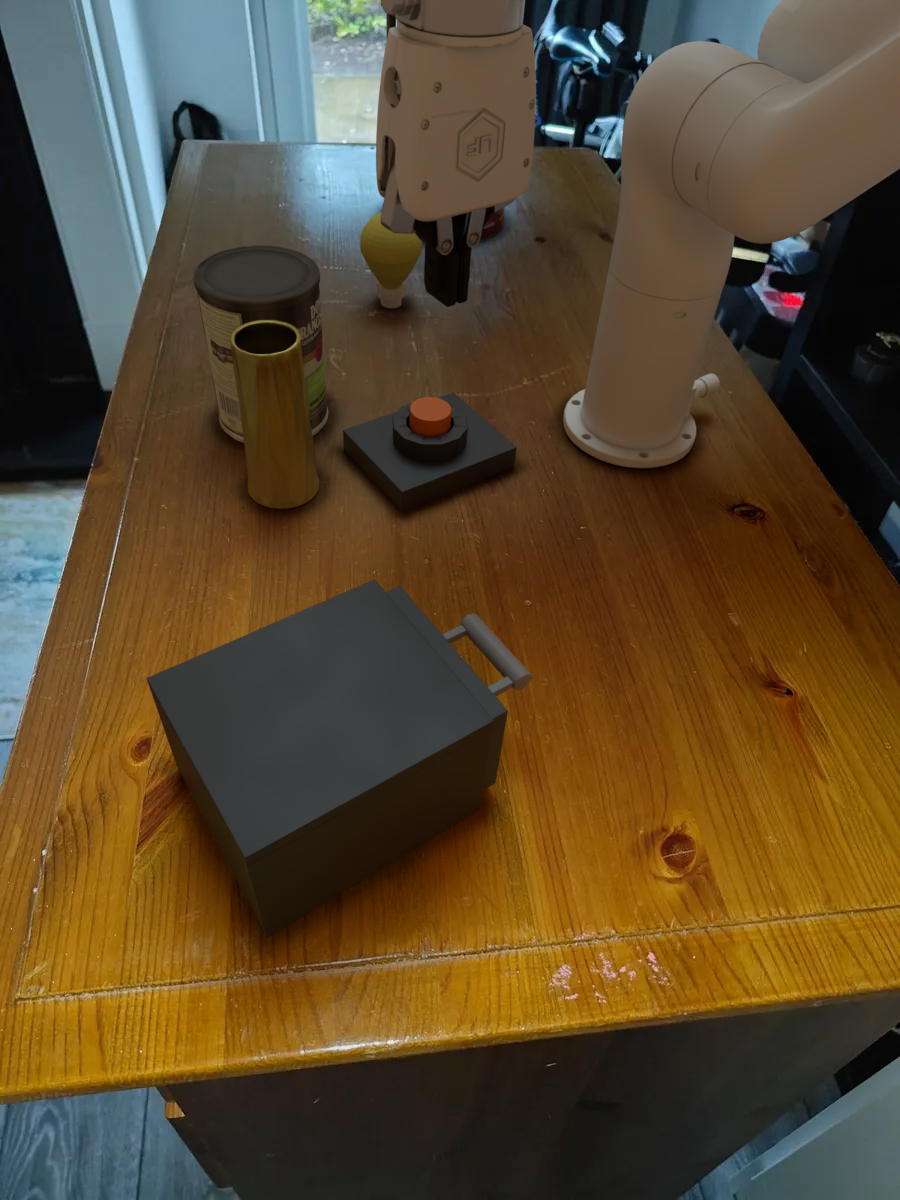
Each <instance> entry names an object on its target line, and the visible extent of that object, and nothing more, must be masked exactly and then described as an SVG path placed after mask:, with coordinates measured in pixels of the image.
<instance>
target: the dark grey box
mask: <svg viewBox="0 0 900 1200" xmlns="http://www.w3.org/2000/svg"><path fill="white" fill-rule="evenodd" d="M386 592H387V591H385V589H383V587H382V586H381V585H380V583H379V582H378V581H377V580H376V579H371V580H370V581H367V582H365V583H362V584H360V585H357V586H356V587H353V588H350V589H349V590H346V591H344V592H341V593H340V594H337V595H335V596H332V597H331V598H328V599H325V600H324V601H321V602H319V603H317V604H313V605H312V606H310V607H307V608H305V609H303V610H300V611H298V612H296V613H293V614H291V615H288V616H286V617H284V618H282V619H279V620H277V621H275V622H273V623H270V624H268V625H266V626H264V627H261V628H259V629H256V630H254V631H251V632H249V633H247V634H245V635H242V636H240V637H238V638H236V639H234V640H231V641H229V642H227V643H224V644H222V645H219V646H217V647H215V648H213V649H211V650H208V651H206V652H203V653H201V654H199V655H197V656H196V655H195V656H193V657H192V658H190V659H187V660H185V661H183V662H181V663H178V664H176V665H173V666H171V667H168V668H166V669H164V670H162V671H160V672H158V673H155V674H153V675H150V676H148V677H146V681H147V684H148V687H149V691H150V693H151V696H152V699H153V701H154V705H155V707H156V710H157V713H158V716H159V719H160V722H161V725H162V727H163V731H164V733H165V736H166V739H167V742H168V745H169V748H170V750H171V754H172V756H173V759H174V762H175V765H176V767H177V770H178V773H179V775H180V777H181V779H182V781H183V782H184V784H185V786H186V788H187V790H188V792H189V793H190V795H191V797H192V799H193V801H194V803H195V805H196V807H197V809H198V811H199V812H200V814H201V817H202V818H203V820H204V822H205V824H206V826H207V828H208V830H209V831H210V833H211V835H212V837H213V839H214V841H215V843H216V845H217V846H218V849H219V850H220V852H221V854H222V856H223V858H224V860H225V861H226V864H227V865H228V868H229V869H230V871H231V873H232V875H233V877H234V879H235V881H236V882H237V884H238V887H239V888H240V890H241V892H242V894H243V896H244V897H245V899H246V901H247V903H248V905H249V907H250V909H251V911H252V913H253V914H254V916H255V918H256V920H257V922H258V924H259V926H260V928H261V929H262V931H263V933H264V935H265V937H266V938H269V937H270V936H273V935H274V934H275V933H277V932H279V931H281V930H282V929H284V928H285V927H287V926H289V925H290V924H292V923H294V922H295V921H297V920H298V919H300V918H302V917H303V916H305V915H307V914H309V913H310V912H312V911H314V910H315V909H317V908H318V907H320V906H322V905H324V904H325V903H327V902H329V901H330V900H332V899H333V898H335V897H338V896H339V895H341V894H342V893H343V892H345V891H347V890H349V889H350V888H352V887H353V886H355V885H357V884H359V883H360V882H362V881H363V880H365V879H367V878H368V877H370V876H372V875H374V874H376V872H377V873H378V871H380V870H382V869H383V868H386V866H389V865H391V864H392V863H393V862H396V861H397V860H399V859H400V858H403V856H405V855H407V854H408V853H410V852H412V851H414V850H415V849H417V848H419V847H420V846H422V845H423V844H425V843H427V842H429V841H430V840H432V839H433V838H435V837H437V836H438V835H440V834H441V833H444V832H445V831H446V830H448V829H450V828H451V827H453V826H455V825H457V824H458V823H460V822H461V821H463V820H465V819H467V818H469V817H470V816H472V815H473V814H475V813H476V812H478V811H480V810H481V808H482V802H483V797H484V791H485V790H484V783H485V777H486V771H487V764H488V758H489V751H490V745H491V738H492V732H493V725H494V720H493V719H492V718H491V716H490V715H489V714H488V713H487V712H486V711H485V709H484V708H483V707H482V706H481V705H480V703H479V702H478V701H477V700H476V699H475V698H474V696H473V695H472V694H471V693H470V692H469V690H468V689H467V688H466V687H465V686H464V684H463V683H462V682H461V681H460V680H459V679H458V677H457V676H456V675H455V674H454V673H453V671H452V670H451V669H450V668H449V667H448V666H447V664H446V663H445V662H444V661H443V660H442V658H441V657H440V656H439V655H438V654H437V652H436V651H435V650H434V649H433V648H432V647H431V645H430V644H429V643H428V642H427V641H426V639H425V638H424V637H423V636H422V635H421V634H420V632H419V631H418V630H417V629H416V628H415V626H414V625H413V624H412V623H411V622H410V621H409V619H408V618H407V617H406V616H405V615H404V613H403V612H402V611H401V610H400V609H399V607H398V606H397V605H396V604H395V603H394V602H393V600H392V599H391V598H390V597H389V596H388V594H387V593H386Z"/></svg>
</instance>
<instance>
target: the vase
mask: <svg viewBox="0 0 900 1200" xmlns="http://www.w3.org/2000/svg"><path fill="white" fill-rule="evenodd" d="M231 352H232V359H233V366H234V373H235V380H236V387H237V393H238V398H239V405H240V414H241V422H242V430H243V439H244V443H243V445H244V453H245V460H246V466H247V467H246V468H247V492H248V494H249V496H250V498H251V499H252V500H253V501H254V502H255V503H257V504H259V505H261V506H263V507H266V508H269V509H273V510H275V509H276V510H285V509H286V510H288V509H294V508H298V507H301V506H303V505H305V504H307V503H309V502H310V501H311V500H313V499H314V498H315V496H316V495H317V493H318V492H319V490H320V489H319V488H320V477H319V475H318V472H317V471H318V470H317V459H316V457H317V456H316V449H315V442H314V436H313V435H312V429H311V423H310V413H309V406H308V398H307V391H306V385H305V377H304V369H303V359H302V347H301V334H300V332H299V331H298V330H297V329H296V328H295V327H294V326H292V325H291V324H288V323H285V322H281V321H276V320H257V321H252V322H248V323H246V324H243V325H241V326H240V327H238V328H237V329H235V330H234V332H233V333H232V335H231Z"/></svg>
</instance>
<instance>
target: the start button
mask: <svg viewBox="0 0 900 1200" xmlns="http://www.w3.org/2000/svg"><path fill="white" fill-rule="evenodd" d="M411 403H412V404H411ZM411 403H410V404H411V406H410V428H411V430H412V431H413V432H414V433H417V434H420V435H423V436H439V435H442V434H445V433H447V432H448V431H449V429H450V426H451V407H450V405H449V404H448V403H447V402H446V401H444V400H442V399H439V398H438V397H434V396H425V397H421V398H417V399H416V400H414V401H413V402H411Z"/></svg>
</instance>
